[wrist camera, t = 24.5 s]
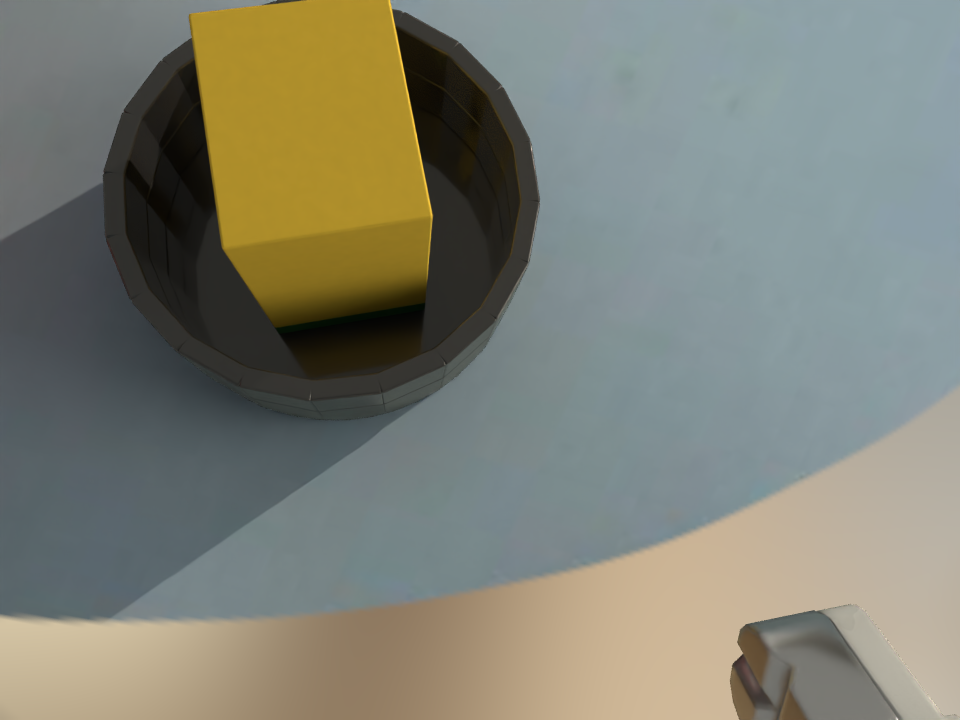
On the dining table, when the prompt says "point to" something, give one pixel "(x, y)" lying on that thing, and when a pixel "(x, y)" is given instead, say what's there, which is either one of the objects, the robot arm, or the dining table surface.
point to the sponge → (315, 159)
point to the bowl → (348, 346)
